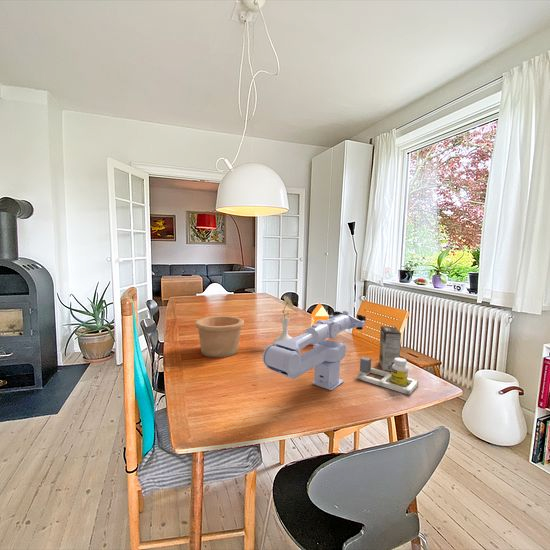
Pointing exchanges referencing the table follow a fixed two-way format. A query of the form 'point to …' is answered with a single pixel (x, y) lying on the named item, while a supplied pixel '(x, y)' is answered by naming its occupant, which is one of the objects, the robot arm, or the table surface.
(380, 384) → the slotted grey tray
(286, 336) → the flower in vase
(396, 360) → the supplement bottle
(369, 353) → the table surface
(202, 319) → the pottery
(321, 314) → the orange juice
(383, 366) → the coffee box
